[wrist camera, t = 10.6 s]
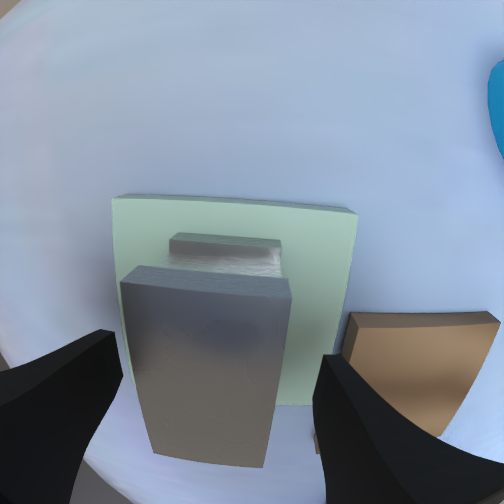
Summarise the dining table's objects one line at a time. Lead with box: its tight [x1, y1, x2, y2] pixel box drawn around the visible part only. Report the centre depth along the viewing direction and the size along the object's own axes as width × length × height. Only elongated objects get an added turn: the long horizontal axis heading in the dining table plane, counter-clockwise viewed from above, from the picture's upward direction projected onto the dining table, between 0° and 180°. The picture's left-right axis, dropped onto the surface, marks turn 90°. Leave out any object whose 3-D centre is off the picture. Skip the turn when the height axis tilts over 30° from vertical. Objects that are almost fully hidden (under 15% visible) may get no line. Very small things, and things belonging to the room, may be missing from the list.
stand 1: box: [112, 194, 358, 405], centre depth 13 cm, size 10×10×2 cm
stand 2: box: [314, 312, 501, 454], centre depth 14 cm, size 10×10×2 cm
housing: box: [120, 232, 292, 468], centre depth 10 cm, size 7×4×5 cm, turn 176°
